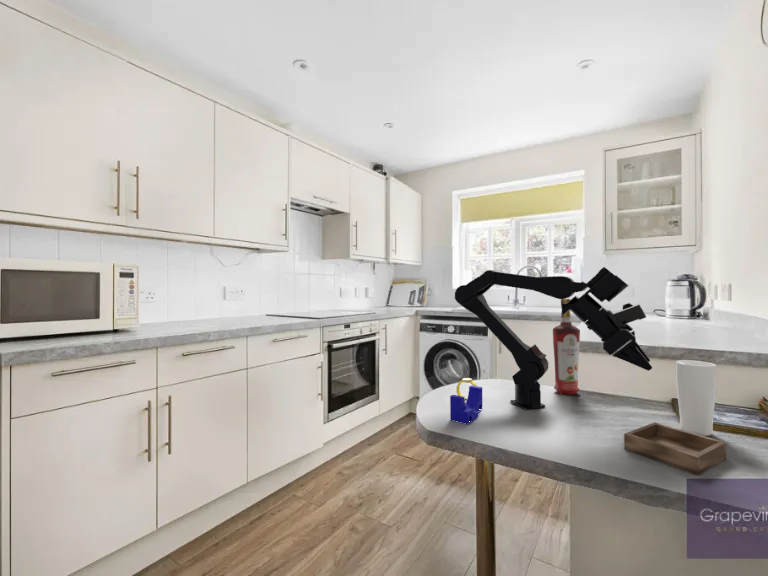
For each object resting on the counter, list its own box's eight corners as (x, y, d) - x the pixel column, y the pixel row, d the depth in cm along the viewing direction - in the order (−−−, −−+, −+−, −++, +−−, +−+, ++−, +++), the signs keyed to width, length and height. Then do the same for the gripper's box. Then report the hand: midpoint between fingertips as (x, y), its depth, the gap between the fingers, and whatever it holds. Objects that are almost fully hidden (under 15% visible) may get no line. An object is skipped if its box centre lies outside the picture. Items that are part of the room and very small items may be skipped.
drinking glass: (724, 440, 75) (723, 367, 75) (684, 436, 77) (683, 365, 77) (707, 428, 81) (706, 360, 81) (670, 424, 84) (670, 359, 84)
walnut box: (624, 448, 71) (624, 433, 71) (654, 436, 77) (654, 422, 77) (697, 475, 61) (697, 457, 61) (726, 458, 67) (726, 442, 67)
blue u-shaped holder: (467, 425, 85) (467, 399, 85) (450, 421, 88) (450, 396, 88) (488, 411, 94) (487, 388, 94) (471, 407, 97) (471, 385, 97)
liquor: (574, 389, 112) (574, 298, 112) (584, 397, 105) (584, 299, 105) (549, 389, 113) (548, 298, 113) (557, 396, 106) (557, 299, 106)
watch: (456, 400, 104) (454, 379, 104) (459, 398, 106) (458, 377, 106) (476, 402, 101) (475, 380, 101) (479, 399, 103) (478, 378, 103)
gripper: (620, 292, 79) (687, 348, 73) (621, 291, 94) (676, 337, 88) (579, 327, 83) (639, 382, 77) (587, 320, 99) (637, 366, 93)
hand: (649, 365), depth 84 cm, fingers open, 9 cm apart
